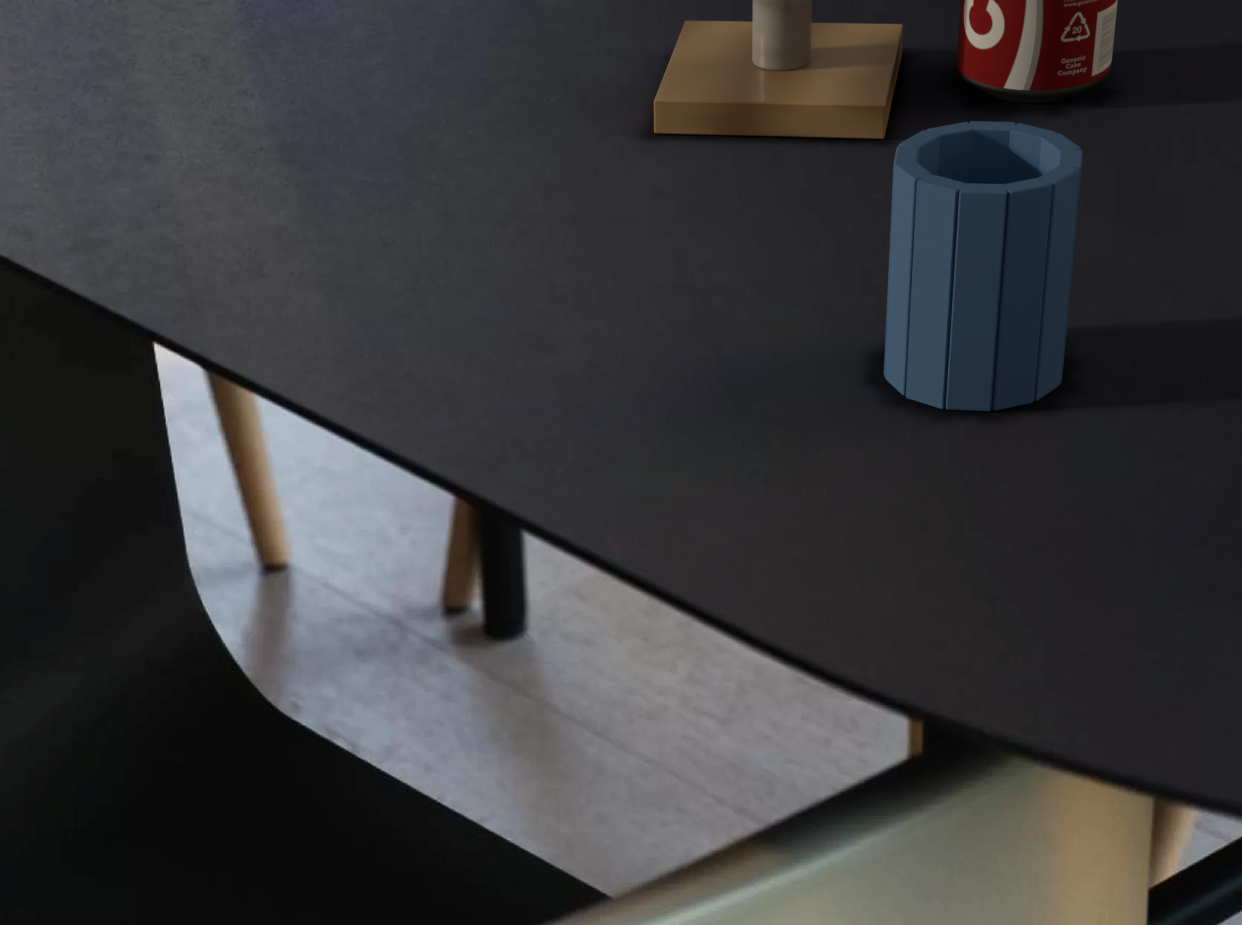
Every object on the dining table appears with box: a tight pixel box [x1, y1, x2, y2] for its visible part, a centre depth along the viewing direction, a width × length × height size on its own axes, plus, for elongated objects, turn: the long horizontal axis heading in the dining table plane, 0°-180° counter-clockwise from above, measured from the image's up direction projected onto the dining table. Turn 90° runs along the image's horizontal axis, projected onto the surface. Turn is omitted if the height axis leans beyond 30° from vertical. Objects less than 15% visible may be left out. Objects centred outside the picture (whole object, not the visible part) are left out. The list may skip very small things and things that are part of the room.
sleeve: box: [883, 120, 1083, 412], centre depth 95 cm, size 6×6×8 cm
